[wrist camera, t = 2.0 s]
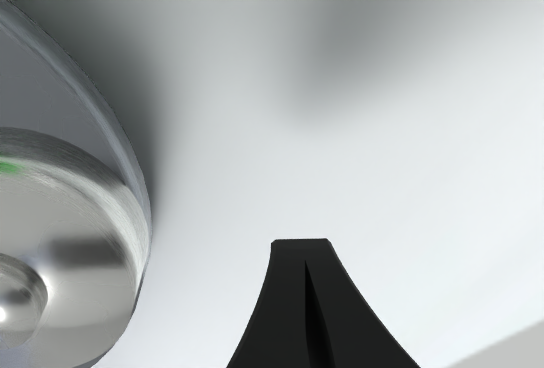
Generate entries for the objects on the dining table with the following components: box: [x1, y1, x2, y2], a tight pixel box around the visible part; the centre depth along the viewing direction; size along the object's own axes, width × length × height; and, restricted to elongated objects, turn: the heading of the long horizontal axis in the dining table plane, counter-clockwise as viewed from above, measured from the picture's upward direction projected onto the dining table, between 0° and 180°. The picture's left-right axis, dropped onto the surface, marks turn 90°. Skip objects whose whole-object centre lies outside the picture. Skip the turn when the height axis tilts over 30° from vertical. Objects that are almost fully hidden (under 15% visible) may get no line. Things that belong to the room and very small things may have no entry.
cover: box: [0, 127, 149, 368], centre depth 12 cm, size 6×6×3 cm
